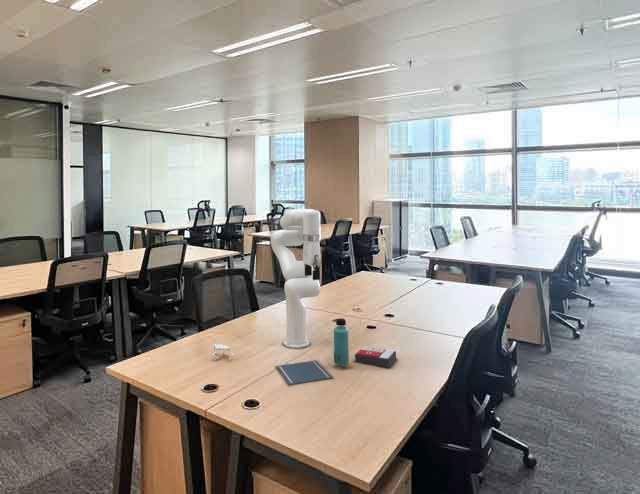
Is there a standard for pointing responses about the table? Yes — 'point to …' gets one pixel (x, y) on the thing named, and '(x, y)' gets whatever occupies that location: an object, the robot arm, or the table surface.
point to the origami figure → (221, 347)
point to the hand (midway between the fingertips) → (312, 277)
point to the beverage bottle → (341, 343)
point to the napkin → (303, 372)
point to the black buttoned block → (376, 356)
